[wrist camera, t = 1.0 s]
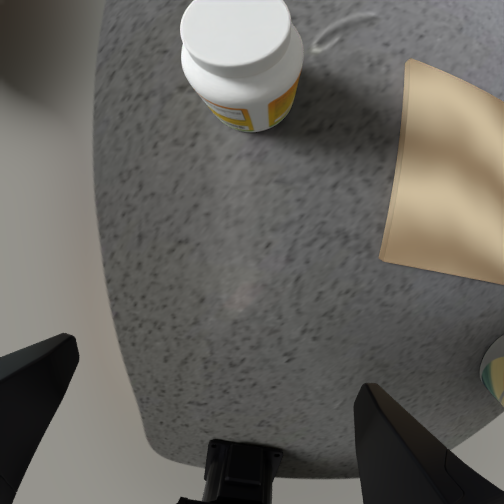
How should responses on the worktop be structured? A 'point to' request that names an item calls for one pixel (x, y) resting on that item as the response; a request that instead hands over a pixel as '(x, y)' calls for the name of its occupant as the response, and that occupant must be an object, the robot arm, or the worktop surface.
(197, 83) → the supplement bottle
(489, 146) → the oak board
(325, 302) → the worktop surface
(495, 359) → the lotion bottle
